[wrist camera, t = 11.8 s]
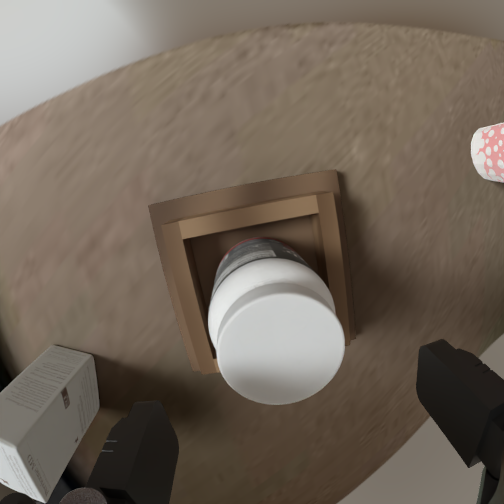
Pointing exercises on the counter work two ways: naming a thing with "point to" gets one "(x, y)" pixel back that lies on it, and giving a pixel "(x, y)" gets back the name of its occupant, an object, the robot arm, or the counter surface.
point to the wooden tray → (240, 229)
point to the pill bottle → (273, 323)
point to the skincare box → (45, 419)
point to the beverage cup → (489, 152)
